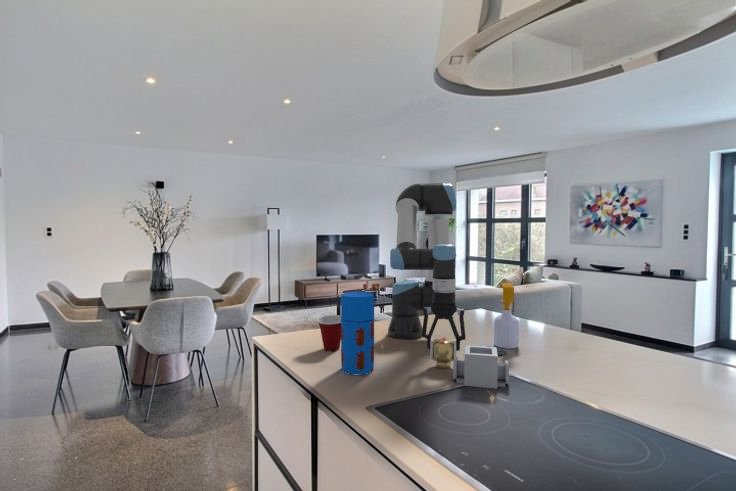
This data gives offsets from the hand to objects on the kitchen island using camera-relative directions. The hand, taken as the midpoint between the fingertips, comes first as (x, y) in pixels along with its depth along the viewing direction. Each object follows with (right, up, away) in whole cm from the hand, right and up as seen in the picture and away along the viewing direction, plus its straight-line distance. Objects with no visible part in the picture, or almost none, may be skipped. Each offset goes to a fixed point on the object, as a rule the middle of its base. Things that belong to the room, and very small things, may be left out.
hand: (443, 359), depth 145 cm
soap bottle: (+29, -1, +25) cm, 38 cm away
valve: (0, -3, 0) cm, 3 cm away
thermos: (-29, -3, -3) cm, 29 cm away
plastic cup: (-39, -2, +20) cm, 44 cm away
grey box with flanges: (+9, -3, -13) cm, 16 cm away
